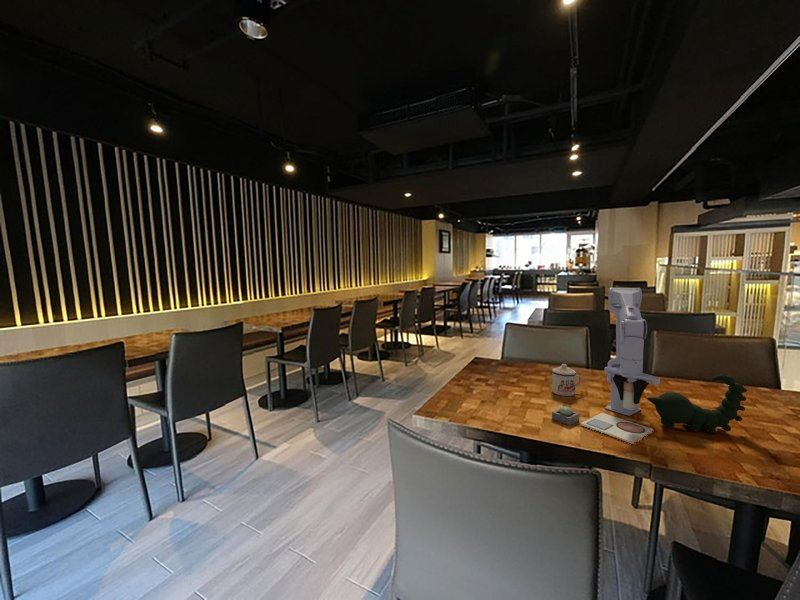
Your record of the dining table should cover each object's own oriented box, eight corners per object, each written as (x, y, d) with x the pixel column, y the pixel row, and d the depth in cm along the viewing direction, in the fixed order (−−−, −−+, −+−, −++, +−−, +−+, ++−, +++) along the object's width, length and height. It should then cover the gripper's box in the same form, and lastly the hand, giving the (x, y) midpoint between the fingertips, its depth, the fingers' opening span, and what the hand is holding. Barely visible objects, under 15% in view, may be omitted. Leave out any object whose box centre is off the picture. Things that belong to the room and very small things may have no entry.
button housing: (561, 414, 118) (562, 407, 118) (579, 421, 113) (579, 413, 113) (551, 419, 115) (552, 412, 114) (569, 425, 110) (569, 418, 109)
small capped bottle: (625, 404, 108) (626, 380, 108) (637, 408, 106) (638, 383, 105) (620, 407, 107) (621, 382, 106) (632, 410, 104) (633, 385, 103)
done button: (563, 411, 116) (563, 405, 116) (573, 414, 113) (574, 409, 113) (557, 413, 114) (557, 408, 114) (567, 417, 111) (568, 411, 111)
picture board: (602, 414, 117) (602, 412, 117) (653, 431, 105) (653, 428, 105) (580, 425, 110) (580, 422, 110) (632, 445, 97) (632, 441, 97)
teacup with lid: (557, 396, 135) (558, 367, 134) (547, 389, 144) (547, 361, 143) (587, 396, 135) (588, 367, 134) (575, 388, 144) (576, 361, 143)
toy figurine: (723, 430, 109) (636, 416, 114) (734, 372, 107) (644, 361, 112) (746, 445, 100) (650, 429, 105) (758, 382, 98) (659, 370, 103)
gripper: (600, 355, 109) (598, 397, 110) (653, 365, 97) (651, 412, 98) (611, 352, 113) (609, 392, 114) (663, 361, 100) (661, 406, 102)
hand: (629, 401), depth 106 cm, fingers closed on small capped bottle, 3 cm apart
